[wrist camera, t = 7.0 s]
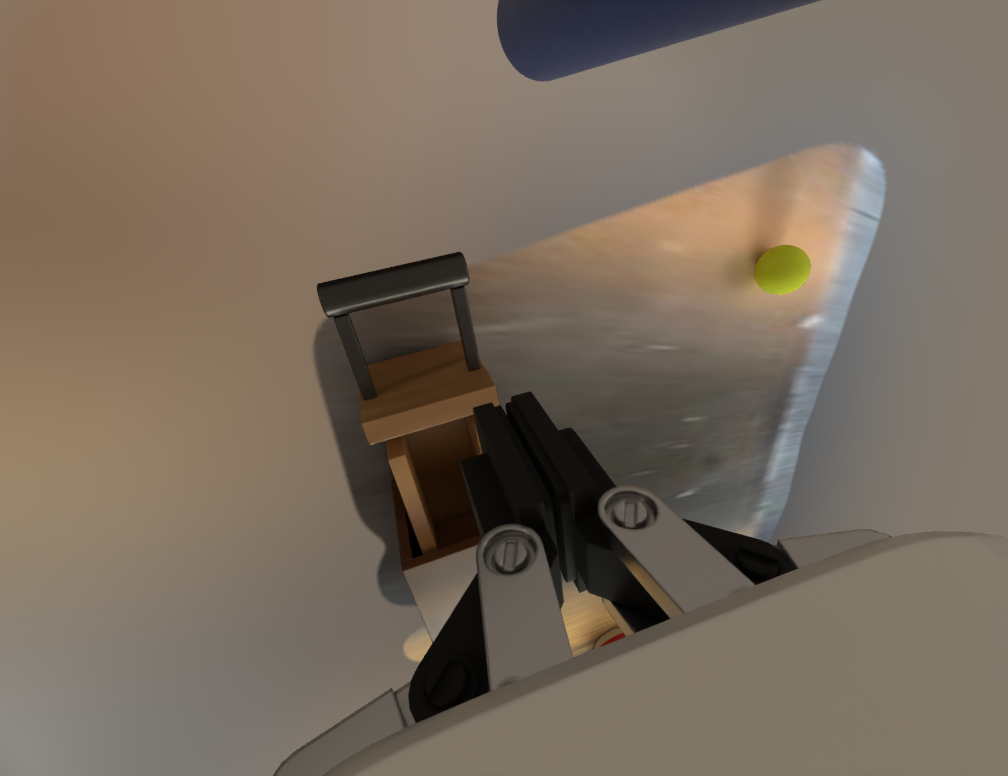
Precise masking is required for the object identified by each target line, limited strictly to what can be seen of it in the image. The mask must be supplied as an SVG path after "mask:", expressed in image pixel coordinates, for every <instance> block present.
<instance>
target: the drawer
mask: <svg viewBox="0 0 1008 776" xmlns="http://www.w3.org/2000/svg"><path fill="white" fill-rule="evenodd" d="M468 284H469V273H468V268H467V264H466V261H465V258H464V256H463V254H462V253H461V252H456V253H452V254H447V255H443V256H439V257H434V258H429V259H425V260H421V261H416V262H412V263H407V264H403V265H398V266H394V267H390V268H385V269H381V270H376V271H372V272H367V273H363V274H359V275H354V276H350V277H345V278H342V279H336V280H332V281H328V282H323V283H319V284H317V292H318V296H319V300H320V303H321V305H322V308H323V310H324V313H325V314H326V316H327V317H328V318H331V317H334V322H335V324H336V327H337V330H338V332H339V335H340V338H341V340H342V343H343V346H344V348H345V351H346V354H347V356H348V359H349V362H350V364H351V367H352V370H353V372H354V375H355V378H356V380H357V383H358V386H359V389H360V411H361V425H362V428H363V430H364V433H365V435H366V438H367V440H368V443H369V445H372V444H375V443H379V442H382V441H386V449H387V457H388V462H389V464H390V467H391V470H392V473H393V475H394V478H395V481H396V483H397V486H398V489H399V491H400V494H401V497H402V500H403V502H404V505H405V508H406V510H407V513H408V516H409V518H410V521H411V524H412V527H413V529H414V532H415V535H416V537H417V540H418V543H419V545H420V548H421V551H422V554H423V555H424V554H427V553H430V552H433V551H435V550H438V549H441V548H444V547H447V546H450V545H453V544H455V543H458V542H461V541H464V540H467V539H470V538H473V537H476V536H478V535H480V532H479V528H478V525H477V522H476V519H475V516H474V513H473V509H472V506H471V503H470V499H469V496H468V492H467V489H466V485H465V481H464V477H463V473H462V469H461V465H460V460H463V459H467V458H470V457H473V456H477V455H480V454H482V451H481V446H480V442H479V437H478V432H477V428H476V423H475V418H474V414H473V407H476V406H480V405H483V404H487V403H491V402H492V403H493V405H494V407H495V406H499V401H498V396H497V390H496V385H495V384H494V382H493V380H492V379H491V377H490V375H489V374H488V372H487V370H486V369H485V367H484V365H483V364H482V362H481V360H480V359H479V355H478V350H477V345H476V340H475V335H474V330H473V325H472V320H471V315H470V310H469V305H468V300H467V294H466V289H465V287H464V285H468ZM448 289H450V292H451V296H452V301H453V305H454V310H455V315H456V319H457V324H458V328H459V333H460V338H461V341H457V342H453V343H449V344H446V345H442V346H438V347H434V348H430V349H427V350H423V351H419V352H415V353H411V354H408V355H404V356H400V357H396V358H392V359H389V360H385V361H381V362H377V363H373V364H370V365H367V363H366V360H365V358H364V355H363V352H362V349H361V346H360V343H359V341H358V338H357V335H356V332H355V329H354V326H353V323H352V321H351V318H350V315H349V313H352V312H356V311H360V310H365V309H369V308H373V307H377V306H381V305H385V304H389V303H394V302H398V301H402V300H406V299H410V298H414V297H419V296H423V295H427V294H431V293H435V292H439V291H444V290H448Z"/></svg>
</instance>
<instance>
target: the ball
mask: <svg viewBox="0 0 1008 776" xmlns="http://www.w3.org/2000/svg"><path fill="white" fill-rule="evenodd" d="M810 269H811V264H810V260H809V257H808V256H807V254H806V253H805V252H804V251H803V250H802V249H800V248H798V247H795V246H791V245H781V246H777V247H774V248H772V249H770V250H768V251H767V252H765V253H764V254H763V255H762V256H761V257H760V258H759V260H758V261H757V263H756V266H755V270H754V276H755V280H756V282H757V284H758V286H759V287H760V288H761V289H763V290H764V291H766V292H768V293H771V294H786V293H790V292H792V291H794V290H796V289H798V288H799V287H800V286H801V285H803V283H804V282H805V281H806V280H807V278H808V276H809V273H810Z"/></svg>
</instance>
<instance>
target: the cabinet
mask: <svg viewBox="0 0 1008 776" xmlns="http://www.w3.org/2000/svg"><path fill="white" fill-rule="evenodd" d="M391 484H392V492H393V500H394V508H395V516H396V524H397V532H398V540H399V548H400V556H401V562H402V563H401V564H402V572H403V574H404V576H405V579H406V581H407V583H408V586H409V588H410V591H411V593H412V595H413V598H414V600H415V602H416V605H417V607H418V609H419V612H420V614H421V617H422V619H423V621H424V624H425V626H426V629H427V631H428V633H429V636H430V638H431V640H432V643H433V642H434V640H435V639H436V637H437V636H438V634H439V632H440V631H441V629H442V628H443V626H444V624H445V623H446V621H447V620H448V618H449V616H450V615H451V613H452V612H453V610H454V608H455V607H456V605H457V604H458V602H459V601H460V599H461V597H462V596H463V594H464V593H465V591H466V589H467V588H468V586H469V585H470V583H471V581H472V580H473V578H474V577H475V575H476V573H477V563H476V551H477V547H478V545H479V542H480V540H481V539H482V538H481V535H478V536H476V537H473V538H470V539H467V540H464V541H461V542H458V543H455V544H453V545H450V546H447V547H444V548H441V549H438V550H435V551H433V552H430V553H427V554H424V555H423V554H422V551H421V548H420V545H419V543H418V540H417V537H416V535H415V532H414V529H413V527H412V524H411V521H410V518H409V516H408V513H407V510H406V508H405V505H404V502H403V500H402V497H401V494H400V491H399V489H398V486H397V483H396V481H395V479H394V480H392V481H391Z"/></svg>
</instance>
